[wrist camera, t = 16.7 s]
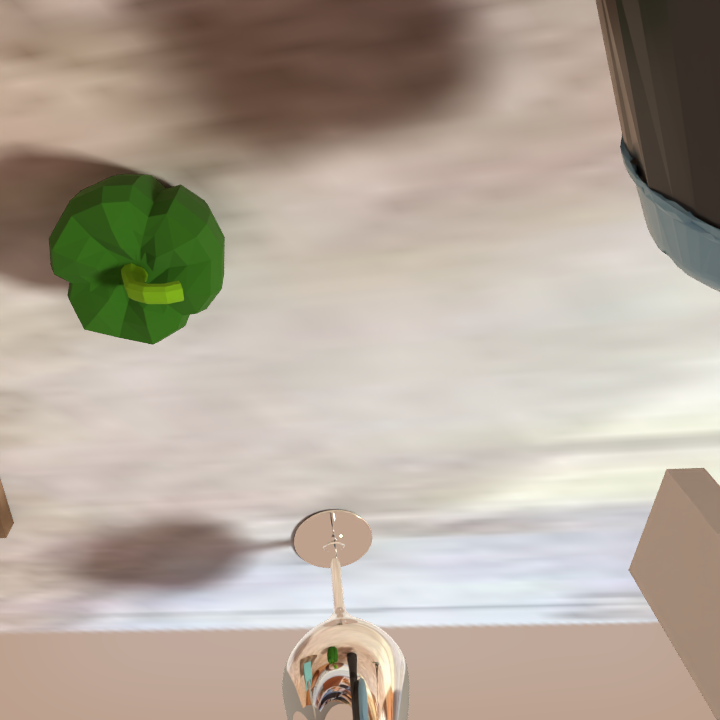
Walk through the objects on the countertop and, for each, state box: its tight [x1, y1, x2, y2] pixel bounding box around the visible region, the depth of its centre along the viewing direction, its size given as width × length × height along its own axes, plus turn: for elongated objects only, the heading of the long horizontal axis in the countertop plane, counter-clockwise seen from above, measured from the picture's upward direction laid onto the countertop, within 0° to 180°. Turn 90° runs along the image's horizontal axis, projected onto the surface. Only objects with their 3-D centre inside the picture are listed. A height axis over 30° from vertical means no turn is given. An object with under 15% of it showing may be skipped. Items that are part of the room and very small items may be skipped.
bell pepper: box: [49, 174, 225, 344], centre depth 33 cm, size 8×8×10 cm
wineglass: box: [282, 510, 409, 720], centre depth 44 cm, size 8×8×18 cm
